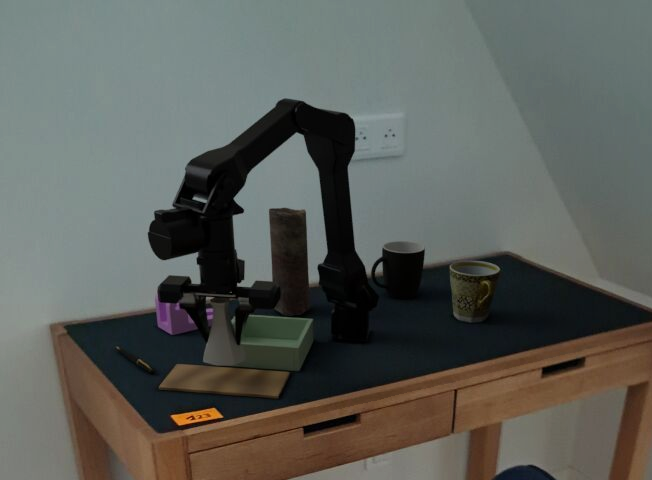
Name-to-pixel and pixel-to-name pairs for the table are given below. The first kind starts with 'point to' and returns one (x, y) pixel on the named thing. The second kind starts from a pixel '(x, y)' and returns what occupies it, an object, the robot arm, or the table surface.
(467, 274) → the ceramic cup
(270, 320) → the bin
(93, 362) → the table surface
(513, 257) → the table surface
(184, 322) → the bracket
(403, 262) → the mug
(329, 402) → the table surface
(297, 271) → the brown tall block
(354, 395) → the table surface
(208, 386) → the cork mat
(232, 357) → the flask
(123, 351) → the fountain pen
